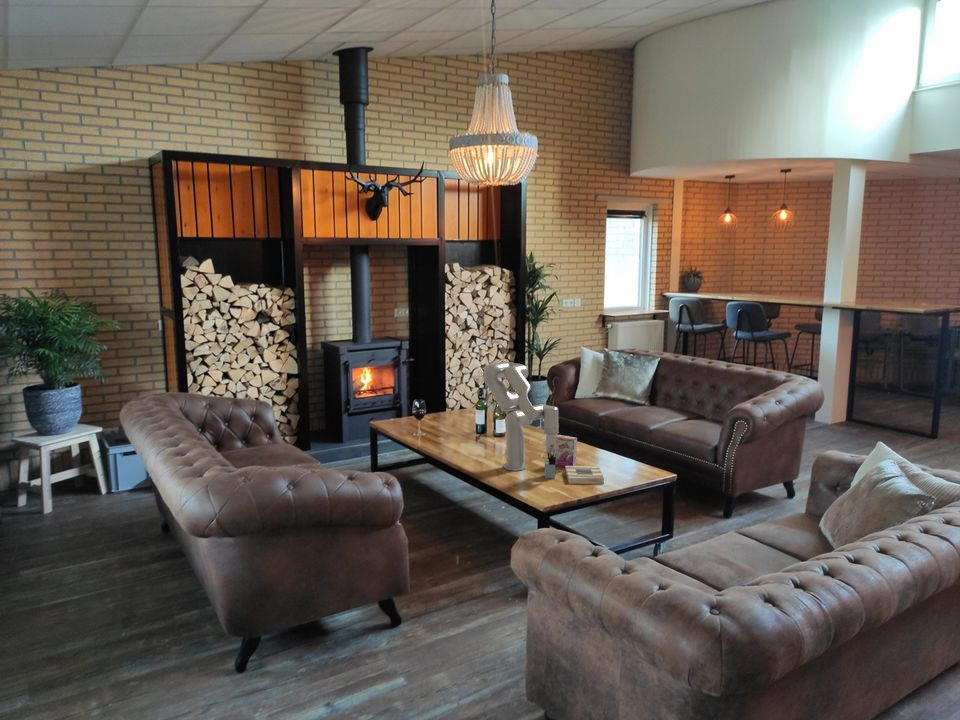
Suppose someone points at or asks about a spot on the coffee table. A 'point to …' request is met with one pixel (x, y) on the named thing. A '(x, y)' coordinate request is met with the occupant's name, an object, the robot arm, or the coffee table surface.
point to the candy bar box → (565, 451)
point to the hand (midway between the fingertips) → (551, 462)
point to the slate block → (549, 470)
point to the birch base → (584, 474)
